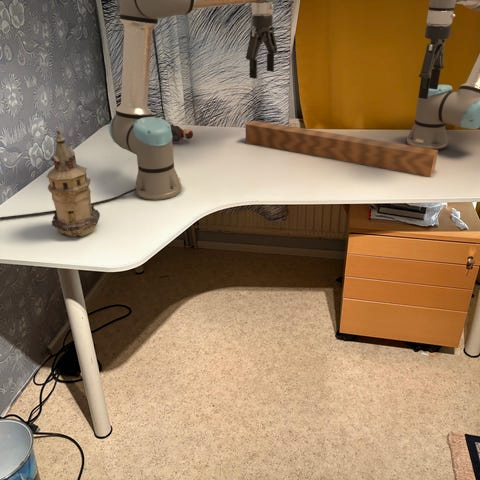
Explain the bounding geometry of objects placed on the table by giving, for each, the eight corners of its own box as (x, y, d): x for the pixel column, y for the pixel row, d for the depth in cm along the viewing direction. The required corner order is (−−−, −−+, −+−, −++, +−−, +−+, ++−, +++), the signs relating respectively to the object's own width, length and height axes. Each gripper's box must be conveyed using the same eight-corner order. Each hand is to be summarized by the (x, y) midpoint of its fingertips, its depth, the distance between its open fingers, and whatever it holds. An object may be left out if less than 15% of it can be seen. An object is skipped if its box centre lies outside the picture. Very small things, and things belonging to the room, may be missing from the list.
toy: (134, 117, 234) (200, 117, 228) (136, 131, 237) (202, 131, 231) (110, 136, 212) (182, 136, 205) (113, 151, 215) (184, 152, 208)
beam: (245, 142, 219) (245, 124, 215) (252, 138, 223) (252, 120, 219) (430, 176, 186) (434, 155, 182) (434, 171, 190) (438, 150, 186)
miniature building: (80, 214, 164) (63, 117, 149) (111, 225, 157) (96, 125, 142) (44, 231, 154) (22, 130, 140) (75, 244, 147) (55, 139, 133)
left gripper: (254, 19, 184) (254, 82, 194) (287, 11, 202) (285, 69, 213) (235, 18, 187) (236, 79, 197) (269, 10, 206) (268, 67, 216)
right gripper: (442, 31, 155) (430, 103, 166) (459, 20, 174) (448, 86, 184) (416, 29, 159) (406, 100, 169) (436, 19, 177) (426, 84, 188)
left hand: (261, 74), depth 205 cm, fingers open, 13 cm apart
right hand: (428, 93), depth 177 cm, fingers open, 13 cm apart
